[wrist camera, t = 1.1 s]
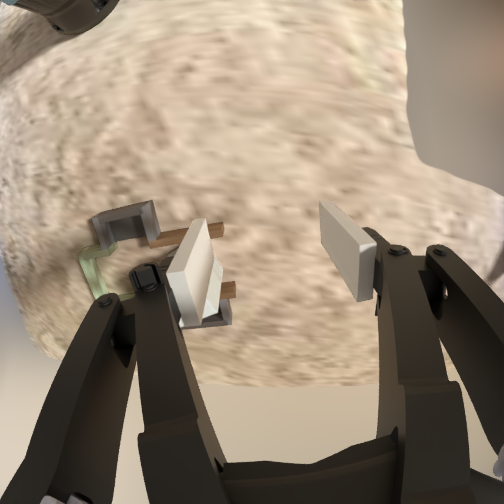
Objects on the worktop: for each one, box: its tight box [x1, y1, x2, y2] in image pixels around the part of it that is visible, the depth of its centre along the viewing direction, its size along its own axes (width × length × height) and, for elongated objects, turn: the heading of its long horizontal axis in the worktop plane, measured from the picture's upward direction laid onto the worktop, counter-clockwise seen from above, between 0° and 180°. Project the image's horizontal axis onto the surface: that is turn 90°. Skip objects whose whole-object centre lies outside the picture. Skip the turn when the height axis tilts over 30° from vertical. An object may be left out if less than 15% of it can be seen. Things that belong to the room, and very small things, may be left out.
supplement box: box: [166, 248, 223, 328], centre depth 42 cm, size 7×7×13 cm
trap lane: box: [77, 200, 236, 330], centre depth 46 cm, size 24×27×4 cm
